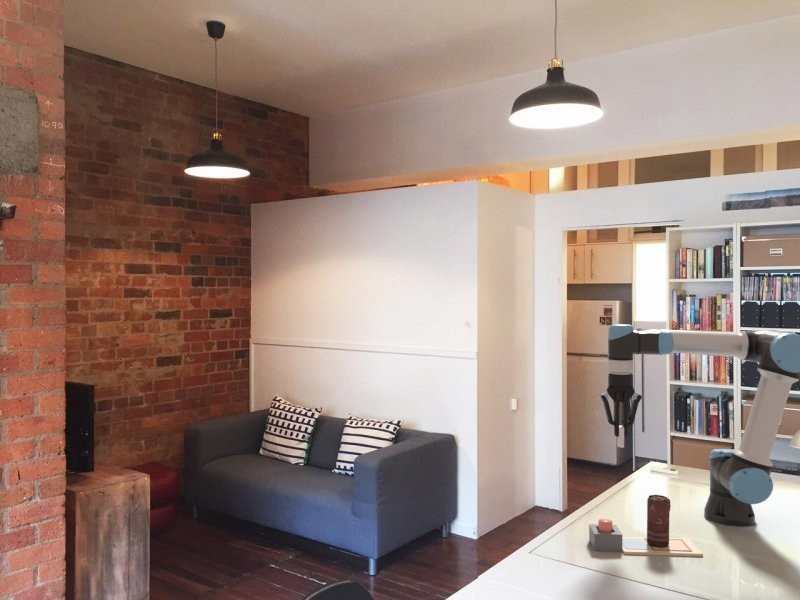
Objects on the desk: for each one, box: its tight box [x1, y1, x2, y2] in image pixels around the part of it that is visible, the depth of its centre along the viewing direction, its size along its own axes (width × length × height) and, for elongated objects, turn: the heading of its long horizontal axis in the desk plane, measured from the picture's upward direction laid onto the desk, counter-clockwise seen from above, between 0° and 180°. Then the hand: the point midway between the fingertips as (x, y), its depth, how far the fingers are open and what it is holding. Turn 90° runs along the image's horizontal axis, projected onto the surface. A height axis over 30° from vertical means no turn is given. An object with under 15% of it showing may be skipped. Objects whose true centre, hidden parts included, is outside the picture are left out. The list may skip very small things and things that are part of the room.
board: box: [622, 536, 704, 558], centre depth 197 cm, size 22×12×1 cm, turn 85°
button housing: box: [588, 523, 623, 553], centre depth 199 cm, size 8×8×5 cm
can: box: [646, 494, 671, 548], centre depth 197 cm, size 6×6×14 cm
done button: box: [597, 518, 613, 532], centre depth 199 cm, size 4×4×4 cm
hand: (620, 446), depth 213 cm, fingers closed
